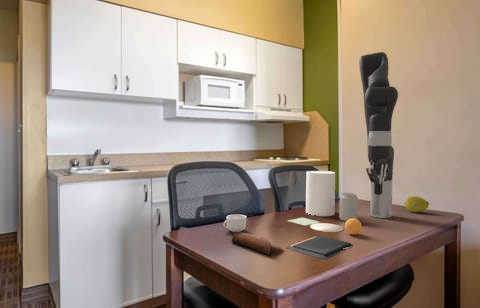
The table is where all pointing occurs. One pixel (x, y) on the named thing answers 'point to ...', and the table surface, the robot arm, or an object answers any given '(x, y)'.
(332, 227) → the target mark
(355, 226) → the ball
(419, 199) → the lemon
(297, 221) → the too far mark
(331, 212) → the canister
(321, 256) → the wallet
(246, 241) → the sunglasses case
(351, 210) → the can
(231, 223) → the teacup
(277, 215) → the table surface
